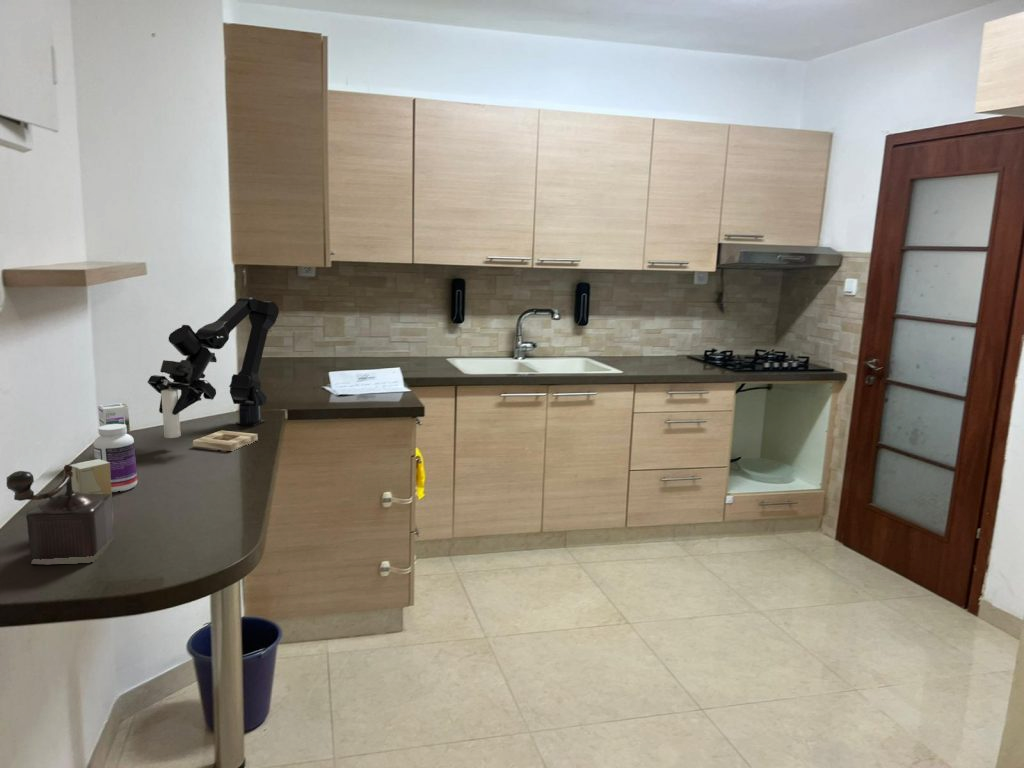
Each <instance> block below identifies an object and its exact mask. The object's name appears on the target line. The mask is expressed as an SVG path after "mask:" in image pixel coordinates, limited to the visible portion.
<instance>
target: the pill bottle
mask: <svg viewBox="0 0 1024 768" xmlns="http://www.w3.org/2000/svg"><path fill="white" fill-rule="evenodd" d="M97 430H98V434H99V436H98V437H97V438H95V439H94V441H93V443H92V444H93V445H92V447H93V453H94V454H93V455H94V460H96V459H101V460H104V461H107V462H110V475H111V491H112V493H118V491H120V492H125V491H128V490H130V489H133V488H134V487H135V486H136V485H137V483H138V473H137V472H138V471H137V460H136V449H135V440H134V437H133V436H132V435H131V434H130V435H129V434H126V432H127V427H126V425H125V424H109V425H104V426H100V425H99V427H98V428H97Z"/></svg>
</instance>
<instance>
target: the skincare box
mask: <svg viewBox="0 0 1024 768" xmlns="http://www.w3.org/2000/svg"><path fill="white" fill-rule="evenodd" d="M70 465H71V466H72V472H73V476H72V489H73V491H74V492H80V493H85V494H111V504H112V505H113V496H112V495H113V492H112V491H111V475H110V462H107V461H104V460H101V459H96V460H95V459H92V460H88V461H87V460H86V461H82V462H77V463H72V464H70ZM113 508H114V507H112V517H113V518H114V514H113V512H114V511H113Z"/></svg>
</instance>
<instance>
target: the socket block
mask: <svg viewBox="0 0 1024 768" xmlns="http://www.w3.org/2000/svg"><path fill="white" fill-rule="evenodd" d="M255 441H257V442H258V441H259V438H258V433H249V432H240V431H230V430H219V431H215V432H213V433H210V434H208V435H205V436H202V437H200V438H197V439H193V440H192V448H193V449H200V450H201V449H202V450H211V451H217V450H221V451H220V452H226V451H233V452H235V451H237V450H236V449H238V448H240V449H242V448H244V447H243V446H245V445H247V446H249V445H252V444H254V443H256V442H255ZM253 442H254V443H253ZM251 443H252V444H251ZM248 444H249V445H248ZM241 447H242V448H241ZM245 447H246V446H245ZM234 450H235V451H234ZM238 450H239V449H238Z"/></svg>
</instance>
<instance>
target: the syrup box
mask: <svg viewBox="0 0 1024 768" xmlns="http://www.w3.org/2000/svg"><path fill="white" fill-rule="evenodd" d="M97 413H98V423H99V424H98V425H99V427H100V426H104V425H109V424H125V425H126V427H127V432H126V434H129V435H131V427H130V415H129V406H128V405H127V404H126V403H124V402H117V403H111V404H110V403H109V404H98V405H97Z"/></svg>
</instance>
